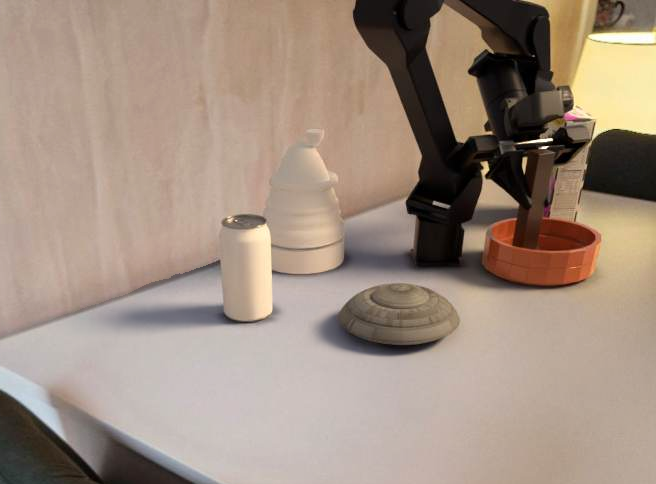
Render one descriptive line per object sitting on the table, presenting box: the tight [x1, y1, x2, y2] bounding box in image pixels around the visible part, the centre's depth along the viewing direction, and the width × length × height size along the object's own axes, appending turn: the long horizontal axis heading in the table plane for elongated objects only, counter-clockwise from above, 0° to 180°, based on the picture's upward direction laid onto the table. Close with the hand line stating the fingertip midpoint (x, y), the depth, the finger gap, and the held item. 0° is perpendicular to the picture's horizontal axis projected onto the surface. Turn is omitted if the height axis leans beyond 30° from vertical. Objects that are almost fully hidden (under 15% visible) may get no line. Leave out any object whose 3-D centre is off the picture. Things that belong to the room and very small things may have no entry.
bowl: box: [481, 217, 602, 287], centre depth 110 cm, size 16×16×5 cm
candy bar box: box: [540, 103, 597, 222], centre depth 124 cm, size 11×5×16 cm, turn 179°
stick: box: [510, 149, 555, 250], centre depth 106 cm, size 4×4×14 cm
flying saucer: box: [338, 282, 461, 346], centre depth 95 cm, size 15×15×6 cm
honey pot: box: [262, 128, 346, 275], centre depth 111 cm, size 13×13×18 cm
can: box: [218, 213, 273, 323], centre depth 98 cm, size 6×6×12 cm
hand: (537, 207), depth 105 cm, fingers closed on stick, 2 cm apart
